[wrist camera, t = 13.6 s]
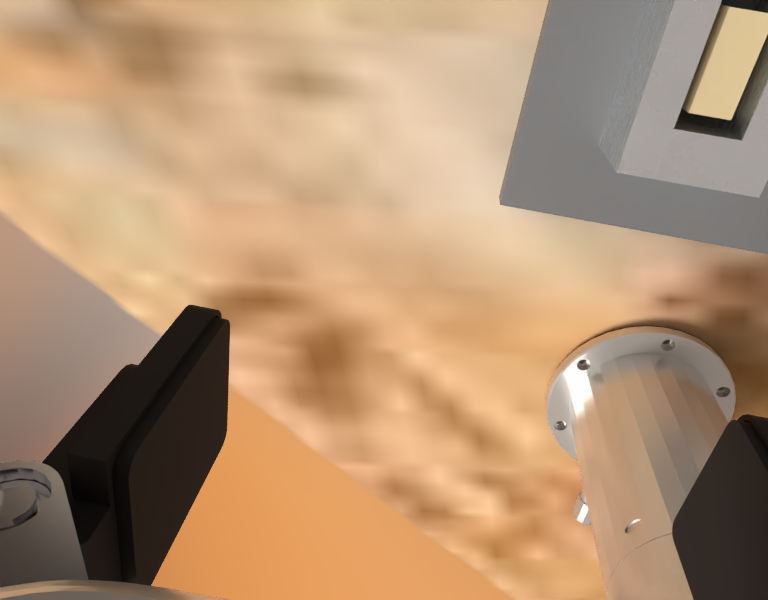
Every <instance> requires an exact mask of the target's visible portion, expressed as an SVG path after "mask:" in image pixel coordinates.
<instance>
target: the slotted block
mask: <svg viewBox="0 0 768 600" xmlns="http://www.w3.org/2000/svg"><path fill="white" fill-rule="evenodd" d="M721 2H722V0H645V2H644V5H643V8H642V11H641V15H640V18H639V21H638V24H637V27H636V30H635V33H634V37H633V40H632V43H631V46H630V49H629V52H628V55H627V58H626V62H625V65H624V68H623V71H622V74H621V77H620V80H619V84H618V87H617V90H616V93H615V96H614V99H613V102H612V106H611V109H610V112H609V115H608V118H607V121H606V124H605V128H604V131H603V134H602V137H601V140H600V143H599V147H600V148H601V150H602V152H603V153H604V155H605V156H606V158H607V159H608V161H609V162H610V164H611V165H612V167H613V168H614V170H615V171H616V173H622V174H627V175H633V176H639V177H644V178H650V179H656V180H661V181H667V182H673V183H678V184H684V185H690V186H695V187H701V188H706V189H712V190H718V191H723V192H729V193H735V194H740V195H746V196H752V197H757V198H759V197H760V195H761V193H762V191H763V189H764V186H765V184H766V182H767V180H768V34H767V37H766V39H765V42H764V44H763V46H762V49H761V51H760V53H759V56H758V58H757V60H756V63H755V65H754V68H753V70H752V72H751V75H750V77H749V79H748V82H747V84H746V86H745V89H744V91H743V94H742V96H741V98H740V101H739V103H738V105H737V108H736V110H735V112H734V115H733V117H732V120H726V119H720V118H715V117H709V116H707V117H705V116H700V115H694V114H688V113H682V112H680V111H681V108H682V106H683V103H684V100H685V98H686V95H687V92H688V90H689V87H690V84H691V82H692V79H693V76H694V74H695V71H696V68H697V66H698V63H699V60H700V58H701V55H702V52H703V50H704V47H705V44H706V42H707V39H708V36H709V34H710V31H711V28H712V26H713V23H714V20H715V18H716V15H717V12H718V10H719V7H720V4H721ZM750 10H755V11H760V12H765V13H768V0H754V1H753V3H752V6H751V8H750Z"/></svg>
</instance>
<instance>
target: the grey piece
mask: <svg viewBox="0 0 768 600" xmlns="http://www.w3.org/2000/svg"><path fill="white" fill-rule="evenodd" d="M753 1H754V0H722V2H721V4H720V7H719V10H718V12H717V15H716V18H715V20H714V23H713V26H712V28H711V31H710V34H709V36H708V39H707V42H706V44H705V47H704V50H703V52H702V55H701V58H700V60H699V63H698V66H697V68H696V71H695V74H694V76H693V79H692V82H691V84H690V87H689V90H688V92H687V95H686V98H685V100H684V103H683V106H682V108H681V111H680V112H682V113H688V114H694V115H700V116H705V117H707V116H709V117H715V118H720V119H726V120H732V117H733V115H734V112H735V110H736V108H737V105H738V103H739V101H740V98H741V96H742V94H743V91H744V89H745V86H746V84H747V82H748V79H749V77H750V75H751V72H752V70H753V68H754V65H755V63H756V60H757V58H758V56H759V53H760V51H761V49H762V46H763V44H764V42H765V39H766V37H767V34H768V13H765V12H760V11H755V10H750V8H751V6H752V3H753ZM644 2H645V0H549V2H548V6H547V10H546V14H545V17H544V21H543V25H542V29H541V33H540V37H539V41H538V45H537V49H536V53H535V57H534V61H533V65H532V69H531V73H530V77H529V81H528V85H527V89H526V93H525V97H524V101H523V105H522V109H521V113H520V116H519V120H518V124H517V128H516V132H515V136H514V140H513V144H512V148H511V152H510V156H509V160H508V164H507V168H506V172H505V176H504V180H503V184H502V188H501V192H500V196H499V198H500V205H505V206H510V207H516V208H521V209H526V210H532V211H537V212H543V213H548V214H553V215H559V216H564V217H570V218H575V219H581V220H586V221H591V222H597V223H602V224H608V225H613V226H618V227H624V228H629V229H635V230H640V231H646V232H651V233H656V234H662V235H667V236H673V237H678V238H683V239H689V240H694V241H700V242H705V243H711V244H716V245H721V246H727V247H732V248H738V249H743V250H748V251H754V252H759V253H765V254H768V180H767V182H766V184H765V186H764V189H763V191H762V193H761V195H760V197H759V198H757V197H752V196H746V195H740V194H735V193H729V192H723V191H718V190H712V189H706V188H701V187H695V186H690V185H684V184H678V183H673V182H667V181H661V180H656V179H650V178H644V177H639V176H633V175H627V174H622V173H616V171H615V170H614V168H613V167H612V165H611V164H610V162H609V161H608V159H607V158H606V156H605V155H604V153H603V152H602V150H601V148H600V147H599V143H600V140H601V137H602V134H603V131H604V128H605V124H606V121H607V118H608V115H609V112H610V109H611V106H612V102H613V99H614V96H615V93H616V90H617V87H618V84H619V80H620V77H621V74H622V71H623V68H624V65H625V62H626V58H627V55H628V52H629V49H630V46H631V43H632V40H633V37H634V33H635V30H636V27H637V24H638V21H639V18H640V15H641V11H642V8H643V5H644Z"/></svg>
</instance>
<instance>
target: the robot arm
mask: <svg viewBox="0 0 768 600" xmlns="http://www.w3.org/2000/svg"><path fill="white" fill-rule="evenodd" d="M229 343H230V323H229V321H228V320H226V319H221V313H220V311H219V310H215V309H210V308H205V307H200V306H195V305H188V306H187V307H186V308H185V309H184V310H183V311H182V313H181V314H180V315H179V316H178V318H177V319H176V320H175V321H174V322H173V324H172V325H171V326H170V327H169V329H168V330H167V331H166V332H165V333H164V335H163V336H162V337H161V338H160V340H159V341H158V342H157V343H156V344H155V346H154V347H153V348H152V350H150V352H149V353H148V354H147V356H146V357H145V358H144V359H143V360H142V361H141V363H140V364H139V365H134V364H130V365H126V366H125V367H124V368H123V369H122V370H121V371H120V372H119V373H118V374H117V375H116V377H115V378H114V379H113V380H112V381H111V382H110V384H109V385H108V386H107V387H106V388H105V389H104V391H103V392H102V393H101V394H100V395H99V397H98V398H97V399H96V400H95V401H94V402H93V404H92V405H91V406H90V407H89V408H88V410H87V411H86V412H85V413H84V414H83V415H82V416H81V418H80V419H79V420H78V421H77V422H76V423H75V425H74V426H73V427H72V428H71V429H70V431H69V432H68V433H67V434H66V435H65V437H64V438H63V439H62V440H61V441H60V442H59V443H58V445H57V446H56V447H55V448H54V449H53V451H52V452H51V453H50V454H49V455H48V456H47V457H46V459H45V460H44V461H43V462H42V463H40V462H36V461H23V460H16V461H11V462H5V463H0V600H227V599H221V598H217V597H212V596H206V595H201V594H195V593H191V592H185V591H180V590H174V589H169V588H162V587H154V586H151V584H152V582H153V580H154V579H155V576H156V574H157V573H158V571H159V569H160V567H161V565H162V563H163V561H164V559H165V557H166V555H167V553H168V551H169V549H170V547H171V545H172V543H173V542H174V539H175V537H176V536H177V534H178V532H179V530H180V528H181V526H182V524H183V522H184V520H185V518H186V516H187V514H188V512H189V510H190V508H191V506H192V504H193V503H194V501H195V499H196V497H197V495H198V493H199V491H200V489H201V487H202V485H203V483H204V481H205V479H206V477H207V475H208V473H209V471H210V469H211V467H212V466H213V464H214V462H215V460H216V458H217V456H218V454H219V452H220V450H221V448H222V446H223V443H224V440H225V437H226V432H227V412H228V378H229ZM735 404H736V392H735V384H734V382H733V379H732V376H731V374H730V372H729V370H728V368H727V367H726V365H725V363H724V362H723V360H722V359H721V358H720V357H719V355H718V354H717V353H716V352H715V351H714V350H713V349H712V348H711V347H710V346H708V345H707V344H705V343H704V342H702V341H701V340H700V339H698V338H696V337H694V336H691V335H689V334H687V333H684V332H682V331H678V330H674V329H669V328H665V327H652V326H641V327H630V328H624V329H620V330H616V331H612V332H608V333H605V334H603V335H601V336H598V337H596V338H593V339H591V340H590V341H588V342H586V343H585V344H583V345H581V346H580V347H578V348H577V349H576V350H574V351H573V352H572V353H571V354H570V355H569V356H568V357H566V358H565V359H564V360H563V362H562V363H561V364H560V366H559V367H558V368H557V370H556V371H555V372H554V375H553V377H552V379H551V381H550V383H549V385H548V390H547V394H546V413H547V419H548V424H549V427H550V429H551V432H552V434H553V436H554V438H555V439H556V441H557V442H558V443H559V445H560V446H561V447H562V448H563V449H564V450H565V451H566V452H567V453H568V454H569V455H570V456H571V457H573V458H575V459H576V460H578V462H579V467H580V472H581V476H582V479H581V482H582V484H583V486H584V487H583V489H582V490H581V492H580V493H579V495H578V498H577V500H576V502H575V505H574V507H573V509H572V512H573V515H574V517H575V518H576V519H577V520H578V521H579V522H581V523H582V524H586V525H592V530H593V535H594V540H595V544H596V549H597V554H598V559H599V564H600V569H601V574H602V578H603V583H604V588H605V593H606V598H607V600H768V418H763V417H758V416H753V415H748V414H747V415H743V416H741V417H740V418H739V419H738V420H732V421H731V419H732V417H733V414H734V410H735ZM730 421H731V422H730Z"/></svg>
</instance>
